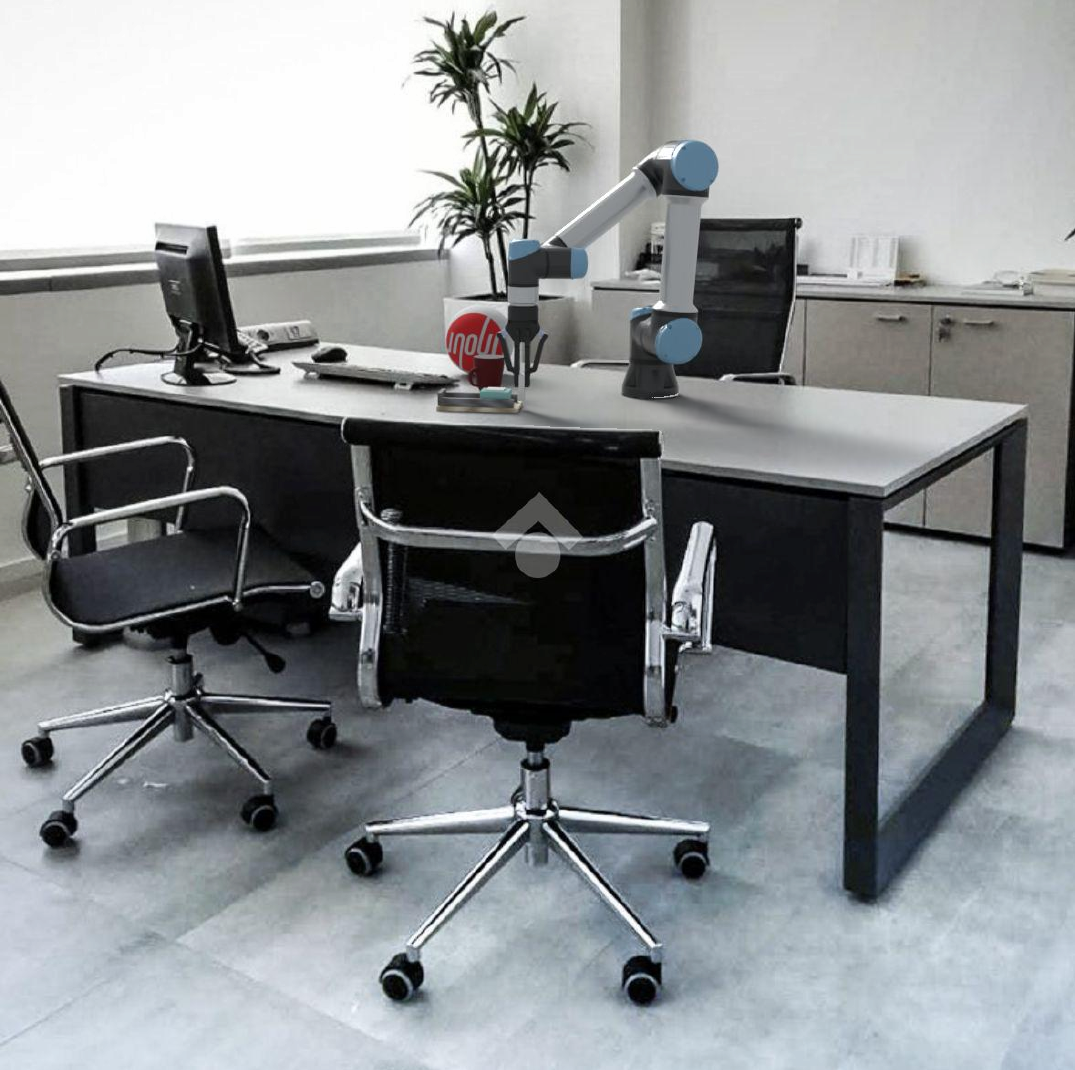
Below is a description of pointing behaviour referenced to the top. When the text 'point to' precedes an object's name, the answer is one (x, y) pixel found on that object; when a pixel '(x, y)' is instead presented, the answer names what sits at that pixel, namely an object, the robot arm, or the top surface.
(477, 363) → the mug
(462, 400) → the rail mount
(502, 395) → the block
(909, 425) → the top surface
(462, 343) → the decorative sphere
